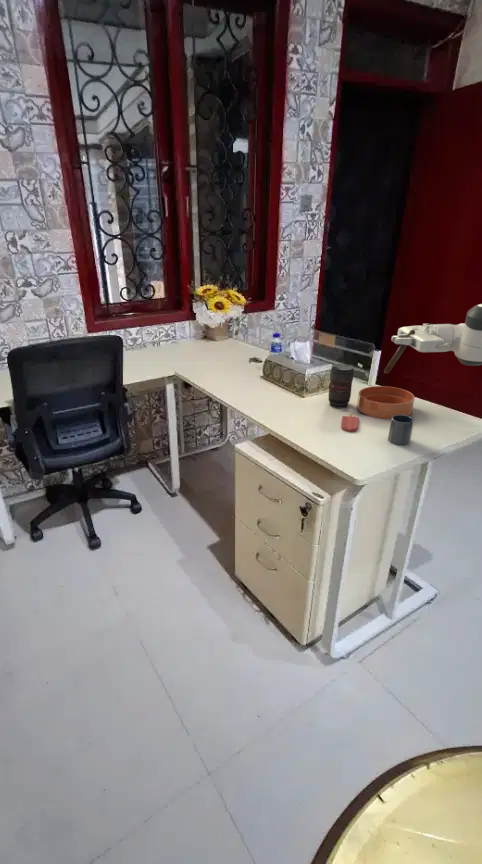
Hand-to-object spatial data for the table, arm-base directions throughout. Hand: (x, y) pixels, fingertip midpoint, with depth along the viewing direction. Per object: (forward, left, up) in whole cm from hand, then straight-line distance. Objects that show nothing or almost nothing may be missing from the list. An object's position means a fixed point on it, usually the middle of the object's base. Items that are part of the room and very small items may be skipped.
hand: (393, 339), depth 136 cm
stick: (+1, 0, -11) cm, 11 cm away
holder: (+7, +22, -26) cm, 35 cm away
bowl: (-2, -2, -26) cm, 26 cm away
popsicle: (+15, +6, -26) cm, 31 cm away
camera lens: (+11, -11, -26) cm, 31 cm away
